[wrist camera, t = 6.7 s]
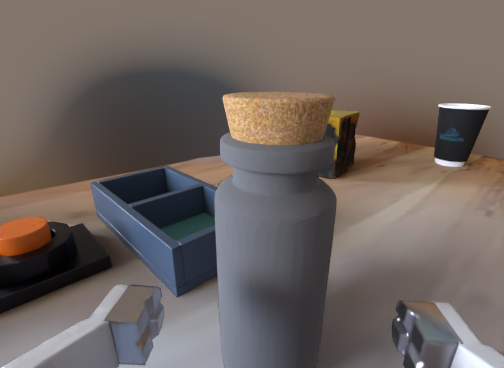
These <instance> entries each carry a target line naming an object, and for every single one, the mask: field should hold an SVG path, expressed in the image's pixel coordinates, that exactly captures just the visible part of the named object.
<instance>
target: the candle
mask: <svg viewBox="0 0 504 368" xmlns="http://www.w3.org/2000/svg"><path fill="white" fill-rule="evenodd" d="M358 117H359V112H358V111H339V110H331V114H330V117H329V120H328V123H327V127H326V130H325V133H324V134H325V135H327V136H329V137H331V138H332V139H333V140H334V141H335V150H334V158H333V161H332V163H331V164H330V165H329V166H327V167H325V168H323V169H320V170H319V176H322V177H326V178H336V177H338V176H339V175H341V174H342V173H344V172H345V171H346V170H347V169H348V168H349V167H351V166H353V165H354V155H355V154H354V153H355V147H356V143H355V129H356V126H357V121H358Z"/></svg>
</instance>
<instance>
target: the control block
mask: <svg viewBox="0 0 504 368" xmlns="http://www.w3.org/2000/svg"><path fill="white" fill-rule="evenodd" d="M48 225H49V229H50V232H51V236H52V240H51V242H49V243H47V244H45V245H44V246H42V247H40V248H38V249H36V250H33V251H30V252H27V253H24V254H21V255H13V256H5V257H1V256H0V313H2V312H4V311H7V310H9V309H12V308H14V307H16V306H19V305H21V304H24V303H26V302H28V301H31V300H33V299H36V298H38V297H40V296H43V295H45V294H48V293H50V292H52V291H55V290H57V289H60V288H62V287H64V286H67V285H69V284H72V283H74V282H76V281H79V280H81V279H84V278H86V277H88V276H91V275H93V274H95V273H98V272H100V271H103V270H105V269H107V268H110V267H112V265H111V260H110V256H109V254H108V253H107V252H106V251H105V250H104V248H103V247H102V246H101V245H100V244H99V243H98V241H97V240H96V239H95V238H94V237H93V235H92V234H91V233H90V232H89V231H88V229H87V228H86V227H85V226H84V225H83V223H81V224H78V225H75V226H71V227H69V226H68V225H67V224H64V223H58V222H48Z"/></svg>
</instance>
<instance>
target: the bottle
mask: <svg viewBox="0 0 504 368" xmlns="http://www.w3.org/2000/svg"><path fill="white" fill-rule="evenodd" d="M334 100H335V97H333V96H331V95H326V94H317V93H299V92H297V93H296V92H247V93H246V92H245V93H232V94H226V95H224V96H223V102H224V107H225V111H226V116H227V120H228V124H229V129H230V133H227V134H225V135H223V136H222V137H221V139H220V155H221V159H222V161H224V162H225V163H226V164H227V165H230V166H232V167H233V176H231V177H229V178H227V179H226V180H225V181H224V182H223V183H221V184H220V186H219V187H218V188H217V190H216V192H215V232H216V254H217V275H218V297H219V318H220V336H221V350H222V359H223V363H224V366H225V368H316V364H317V359H318V353H319V346H320V338H321V330H322V322H323V314H324V306H325V298H326V290H327V282H328V274H329V266H330V257H331V249H332V240H333V232H334V223H335V214H336V196H335V193H334V192H333V190H332V189H331V188H330V187H329V186H328V185H327V184H326V183H325V182H324V181H322V180H321V179H319V178H318V176H319V170H320V169H323V168H325V167H327V166H329V165H330V164H331V163H332V161H333V158H334V150H335V141H334V140H333V139H332V138H331V137H329V136H327V135H325V134H324V133H325V130H326V127H327V123H328V120H329V117H330V114H331V110H332V107H333V104H334Z"/></svg>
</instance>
